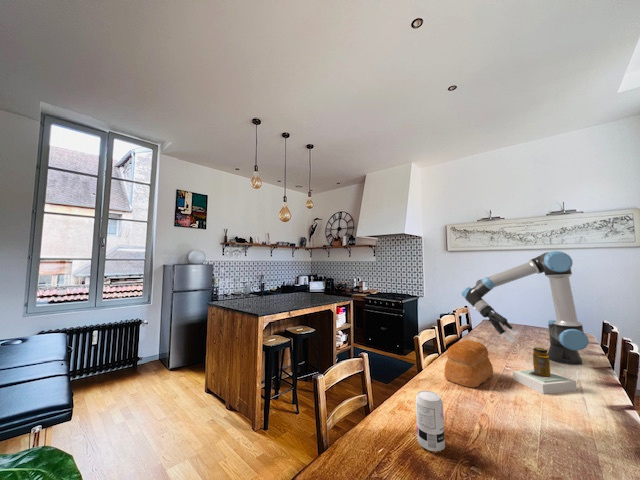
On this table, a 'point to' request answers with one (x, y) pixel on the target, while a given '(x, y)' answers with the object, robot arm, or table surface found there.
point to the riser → (545, 382)
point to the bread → (468, 364)
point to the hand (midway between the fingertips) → (515, 338)
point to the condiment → (541, 364)
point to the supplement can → (430, 421)
